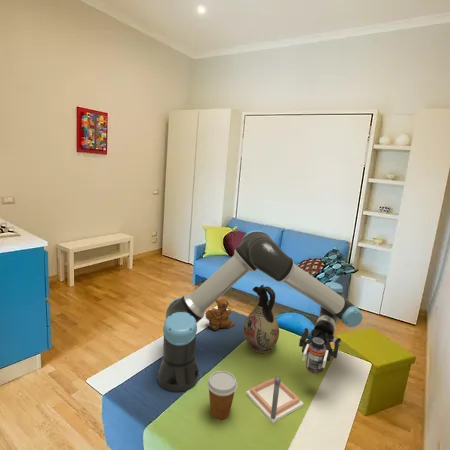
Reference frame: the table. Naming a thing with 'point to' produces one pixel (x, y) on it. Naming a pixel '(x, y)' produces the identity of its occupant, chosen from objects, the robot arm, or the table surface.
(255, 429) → the table surface
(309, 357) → the supplement bottle
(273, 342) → the ceramic jug
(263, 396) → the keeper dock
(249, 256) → the robot arm
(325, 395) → the table surface
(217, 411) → the disposable coffee cup
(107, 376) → the table surface
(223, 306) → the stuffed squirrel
